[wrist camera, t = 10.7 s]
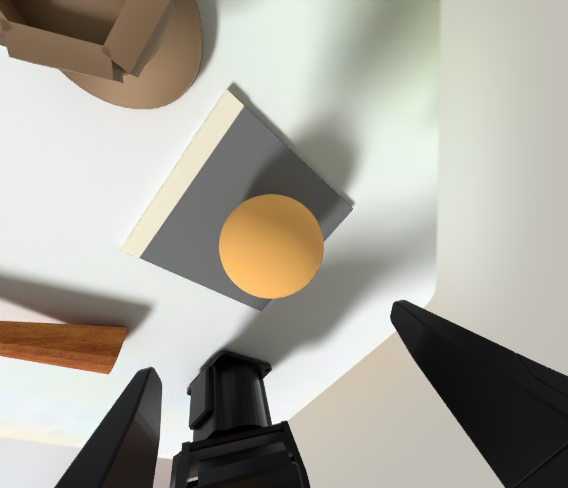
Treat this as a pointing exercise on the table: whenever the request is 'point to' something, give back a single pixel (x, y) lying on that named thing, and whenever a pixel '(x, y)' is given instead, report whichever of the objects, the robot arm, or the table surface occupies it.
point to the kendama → (63, 344)
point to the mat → (225, 197)
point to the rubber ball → (271, 246)
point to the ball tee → (110, 45)
